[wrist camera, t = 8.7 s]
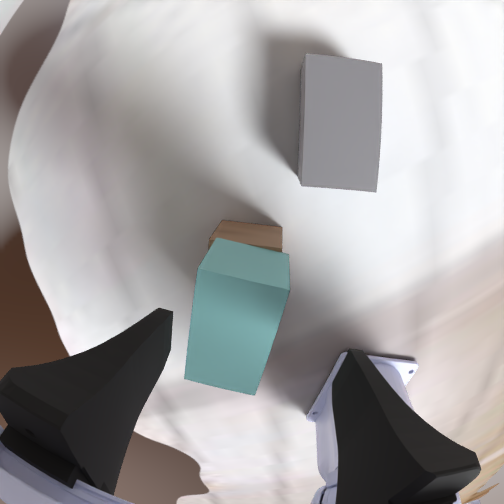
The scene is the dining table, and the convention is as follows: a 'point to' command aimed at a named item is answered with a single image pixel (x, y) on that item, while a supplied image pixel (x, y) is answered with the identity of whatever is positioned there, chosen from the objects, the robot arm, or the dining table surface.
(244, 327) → the teal brick
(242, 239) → the walnut brick
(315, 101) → the gray brick
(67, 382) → the robot arm
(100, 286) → the dining table surface
